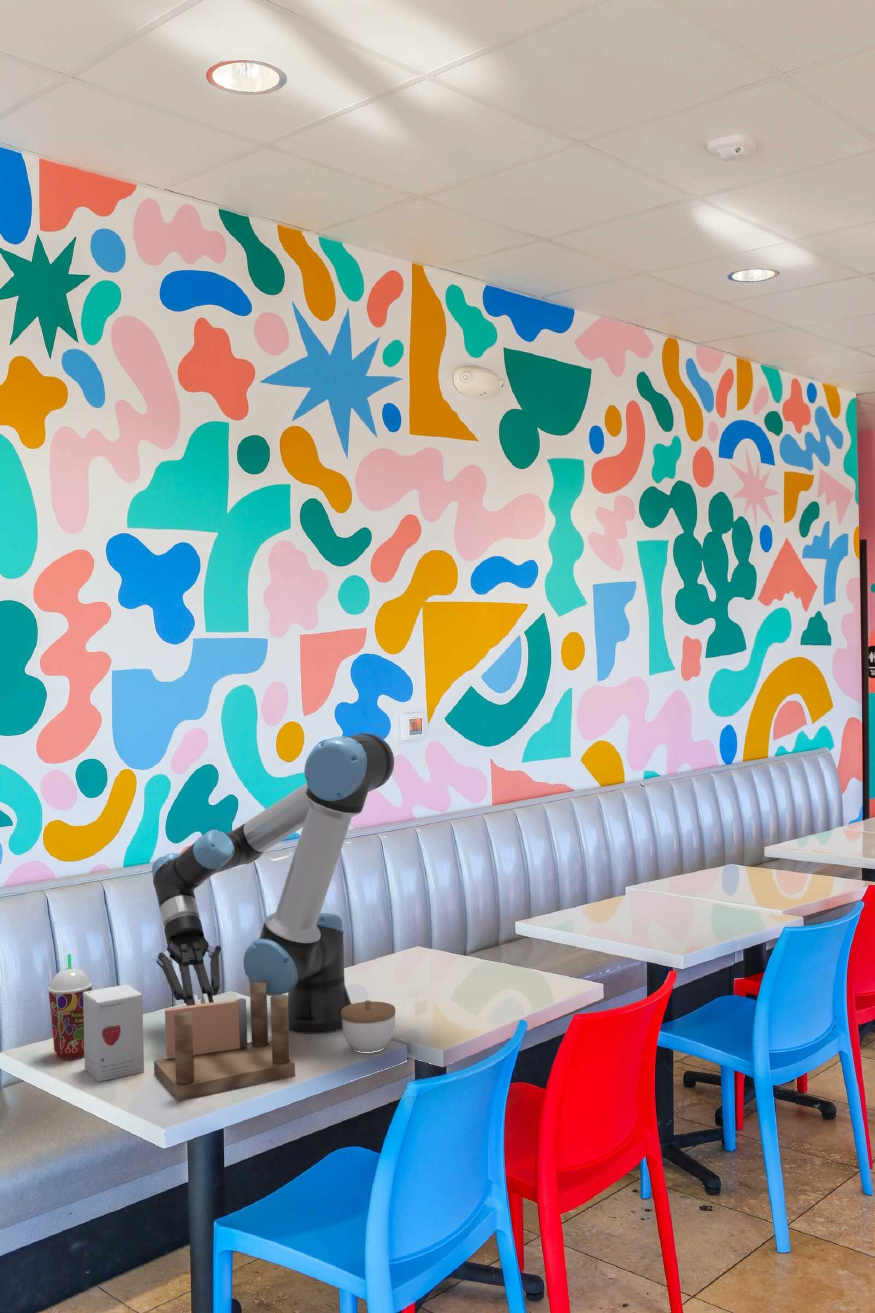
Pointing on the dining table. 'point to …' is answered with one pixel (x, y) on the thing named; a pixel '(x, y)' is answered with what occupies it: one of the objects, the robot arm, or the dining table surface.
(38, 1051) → the dining table surface
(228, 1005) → the leg panel
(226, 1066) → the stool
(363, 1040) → the lidded jar
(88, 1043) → the supplement box
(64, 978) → the smoothie
